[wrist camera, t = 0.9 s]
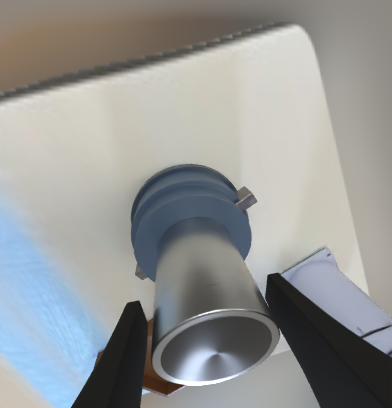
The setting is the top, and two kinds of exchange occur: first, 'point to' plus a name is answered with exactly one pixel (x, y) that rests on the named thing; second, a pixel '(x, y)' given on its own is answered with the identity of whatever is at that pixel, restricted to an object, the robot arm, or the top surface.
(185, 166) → the lidded cooking pot
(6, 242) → the top surface
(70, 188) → the top surface
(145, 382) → the tray
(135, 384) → the robot arm
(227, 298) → the cup
